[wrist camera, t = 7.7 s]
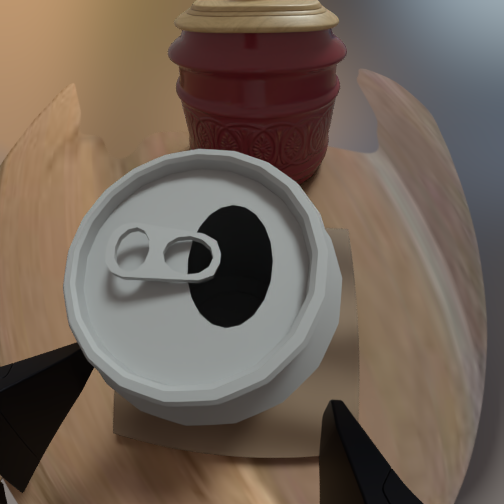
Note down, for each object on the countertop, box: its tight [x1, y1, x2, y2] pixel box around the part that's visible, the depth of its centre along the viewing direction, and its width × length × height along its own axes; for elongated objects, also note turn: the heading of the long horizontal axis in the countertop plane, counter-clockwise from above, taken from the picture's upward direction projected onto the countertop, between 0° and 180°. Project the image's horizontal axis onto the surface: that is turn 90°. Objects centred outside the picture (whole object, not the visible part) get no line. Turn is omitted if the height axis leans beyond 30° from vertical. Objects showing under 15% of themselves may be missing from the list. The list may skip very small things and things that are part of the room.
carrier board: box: [113, 228, 359, 458], centre depth 16 cm, size 16×16×3 cm
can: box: [63, 149, 342, 426], centre depth 11 cm, size 8×8×12 cm
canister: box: [168, 0, 347, 185], centre depth 18 cm, size 13×13×18 cm
